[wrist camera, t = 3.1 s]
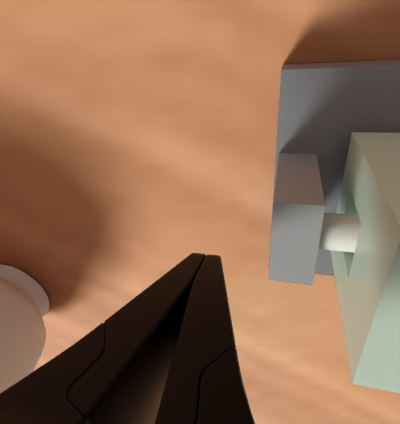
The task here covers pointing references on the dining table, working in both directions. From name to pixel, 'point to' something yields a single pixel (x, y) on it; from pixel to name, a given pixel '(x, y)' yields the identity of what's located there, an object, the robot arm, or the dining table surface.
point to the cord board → (323, 158)
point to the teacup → (20, 324)
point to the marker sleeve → (371, 261)
